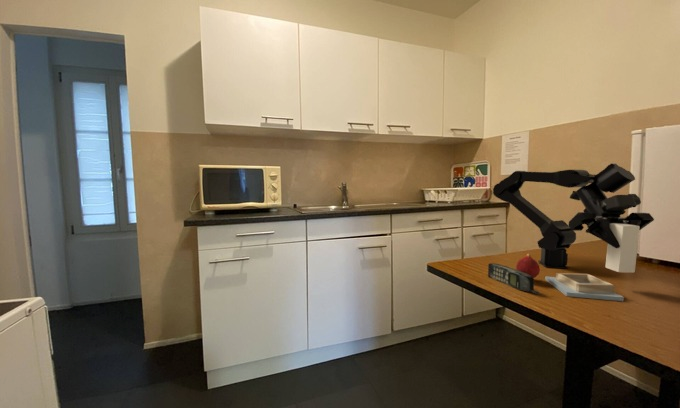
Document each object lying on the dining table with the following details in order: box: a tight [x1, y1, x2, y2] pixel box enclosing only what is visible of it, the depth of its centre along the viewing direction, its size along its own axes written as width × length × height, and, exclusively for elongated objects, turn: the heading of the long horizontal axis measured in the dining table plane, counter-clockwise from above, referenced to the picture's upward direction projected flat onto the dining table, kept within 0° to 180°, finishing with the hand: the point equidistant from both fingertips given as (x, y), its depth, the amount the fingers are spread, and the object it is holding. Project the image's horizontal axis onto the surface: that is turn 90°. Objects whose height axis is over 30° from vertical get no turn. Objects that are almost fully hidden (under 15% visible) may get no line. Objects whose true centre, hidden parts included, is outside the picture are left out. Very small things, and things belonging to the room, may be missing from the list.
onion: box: [515, 253, 541, 279], centre depth 82 cm, size 6×6×8 cm
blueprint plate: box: [545, 275, 625, 302], centre depth 76 cm, size 12×12×1 cm
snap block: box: [604, 223, 640, 274], centre depth 75 cm, size 4×4×12 cm
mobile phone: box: [487, 262, 541, 296], centre depth 79 cm, size 5×3×15 cm
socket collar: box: [555, 272, 616, 293], centre depth 76 cm, size 9×9×2 cm
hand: (626, 247), depth 74 cm, fingers closed on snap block, 4 cm apart
